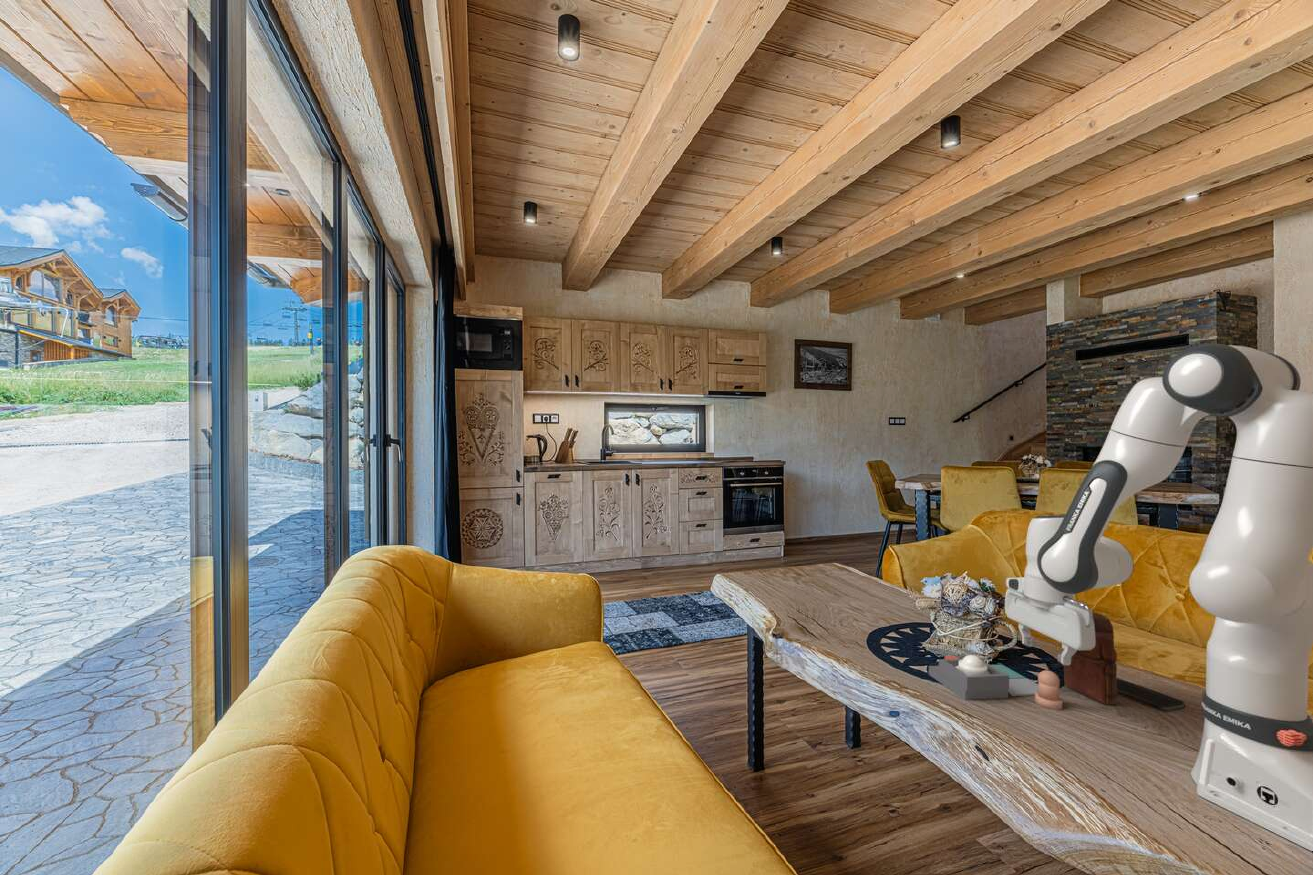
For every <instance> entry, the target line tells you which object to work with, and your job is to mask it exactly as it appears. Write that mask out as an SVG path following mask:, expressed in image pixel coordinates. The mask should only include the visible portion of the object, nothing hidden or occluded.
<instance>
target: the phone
mask: <svg viewBox="0 0 1313 875" xmlns="http://www.w3.org/2000/svg"><path fill="white" fill-rule="evenodd" d="M1116 678H1117V695H1119V696H1122V697H1124V698H1127V699H1130V700H1133V701H1135V702H1138V703H1140V704H1142V705H1145V706H1147V707H1150V708H1153V709H1155V710H1158V711H1161V712H1168V713H1169V712H1172V711H1176V710H1180V709H1185V708H1186V702H1184V701H1182V700H1180V699H1177V698H1175V697H1172V696H1169V695H1166V694H1164V693H1160V692H1157V691H1156V690H1152V689H1150V688H1148V687H1144V686H1142V685H1139V684H1135V683H1133V682H1130V681H1128V680H1125V679H1121V678H1119V677H1117V676H1116Z"/></svg>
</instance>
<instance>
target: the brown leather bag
mask: <svg viewBox="0 0 1313 875" xmlns="http://www.w3.org/2000/svg"><path fill="white" fill-rule="evenodd" d="M1092 614H1093V620H1094V626H1095V647H1094V648H1093V649H1092V650H1077V651H1076V652H1075V654H1074V655H1073V656H1072V657H1071V664H1070V665H1063V678H1064V680H1063V681H1064V685H1066V686H1067V688H1069V689H1071V690H1072V691H1075V692H1077V693H1080V694H1082V695H1084V696H1087V697H1088V698H1090V699H1093V700H1094V701H1097V702H1099V703H1102V704H1103V705H1108V706H1113V705H1115V704H1116V703H1117V700H1118V699H1117V698H1118V694H1117V678H1118V677H1117V674H1118V672H1117V670H1118V669H1117V660H1118V659H1117V656H1118V654H1117V651H1116V649H1115V640H1114V639H1115V634H1114V633H1115V632H1114V627H1113V624H1112V622H1111V621H1110V619H1109V618H1107V617H1106V616H1105V615H1103V614H1101V613H1098V612H1094V611H1092ZM1116 677H1117V678H1116Z"/></svg>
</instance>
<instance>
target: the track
mask: <svg viewBox="0 0 1313 875" xmlns="http://www.w3.org/2000/svg"><path fill="white" fill-rule="evenodd" d="M990 665H991V666H993V667H995V668H996V669H998V670H1000V671H1002V672H1004V673H1005V674H1007V675H1009V690H1008V696H1011V697H1027V696H1029V697H1030V696H1035V693H1037V692H1038V683H1036V682H1035V681H1032V680H1030V679H1029V678H1027V677H1025V676H1024V675H1022V674H1019V673H1018V672H1017V671H1014V670H1012V669H1010V667H1007V666H1005V665H1003V664H990Z"/></svg>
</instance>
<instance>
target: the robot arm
mask: <svg viewBox="0 0 1313 875" xmlns="http://www.w3.org/2000/svg"><path fill="white" fill-rule="evenodd" d="M1301 381H1302V380H1301V376H1300V373H1299V372H1298V370H1297V368H1296V367H1295V366H1294V365H1293V364H1292V363H1291V362H1290V361H1288V360H1287V359H1285V358H1283V357H1282V356H1280V355H1277V354H1274V353H1271V352H1264V351H1261V350H1258V349H1255V348H1252V347H1250V346H1249V347H1248V346H1243V345H1231V344H1228V345H1227V344H1224V343H1207V344H1198V345H1195V346H1192V347H1189V348H1186V349H1184V350H1182V351H1180V352H1179V353H1177V354H1176V355H1174V356H1173V357H1172V358H1171V359H1170V360H1169V361H1168V363H1167V364H1166V365H1165V367H1164V370H1163V373H1162V376H1155V377H1149V378H1145V379H1142V380H1140V381H1138V382H1136V383H1135V384H1134V385H1133V387H1132V388H1131V389H1130V391H1129V392H1128V394H1127V395H1126V397H1125V398H1124V400H1123V401H1122V403H1121V405H1120V407H1119V409H1118V411H1117V413H1116V415H1115V417H1114V420H1113V421H1112V424H1111V426H1110V430H1109V432H1108V433H1107V437H1106V439H1105V441H1104V443H1103V446H1102V447H1101V449H1100V452H1099V454H1098V455H1097V458H1096V460H1095V461H1094V463H1093V464H1092V466H1091V467H1090V469H1089V471H1088V472H1087V473H1086V475H1085V477H1084V478H1083V479H1082V482H1081V483H1080V486H1078V489H1077V491H1076V493H1075V495H1074V496H1073V499H1072V501H1071V503H1070V504H1069V507H1068V509H1067V511H1066V513H1065V514H1051V515H1049V514H1048V515H1047V514H1045V515H1037V516H1035V517H1033V518H1032V519H1031V520H1030V522H1029V524H1028V527H1027V532H1026V540H1025V555H1026V556H1025V557H1026V561H1027V562H1026V566H1025V569H1024V573H1023V576H1019V577H1007V578H1006V580H1005V585H1006V587H1007V589H1006V592H1005V598H1004V612H1005V615H1006V616H1007V618H1008V619H1010V620H1012V621H1014V622H1016V623H1018V629H1019V633H1020V635H1021V637H1022V638H1021V640H1022V642H1021V644H1023V645H1024V646H1026V647H1028V648H1031V647H1032V648H1033V647H1035V642H1036V640H1035V638H1034V637H1033V636H1032V632H1031V630H1034V631H1036V632H1037V633H1040V634H1042V635H1043V636H1046V637H1048V638H1050V639H1053V640H1055V641H1057V642H1059V643H1061V648H1062V649H1063V651H1062V653H1057V659H1056V660H1057V663H1058V664H1061V665H1063V666H1064V665H1070V664H1071V657H1072V656H1073V655H1074V654H1075V652H1076V651H1077V650H1092V649H1093V648H1094V647H1095V626H1094V620H1093V614H1092V612H1093V611H1092V610H1091V608H1089V606H1088V605H1087V603H1085V602H1082V601H1079V600H1077V599H1075V595H1077V594H1081V593H1084V592H1086V591H1090V590H1095V589H1102V588H1106V587H1112V586H1116V585H1119V584H1123V583H1125V582H1126V581H1128V580H1129V579H1130V578H1131V576H1132V575H1133V572H1134V570H1135V569H1134V568H1135V563H1134V559H1133V556H1132V554H1131V552H1130V551H1129V549H1128V548H1127V547H1126V546H1125V545H1124V544H1122V543H1121V542H1120V541H1118V540H1116V539H1113V538H1108V537H1106V536H1104V533H1105V532H1106V531H1105V530H1106V529H1107V527H1108V525H1109V523H1110V521H1111V519H1112V517H1113V515H1114V514H1115V511H1116V510H1117V509H1118V508H1119V506H1120V505H1121V504H1122V503H1124V502H1125V501H1126V500H1127V499H1129V498H1130V497H1132V496H1133V495H1135V494H1137V493H1139V492H1141V491H1142V490H1145V489H1147V488H1149V487H1153V486H1155V485H1157V484H1159V483H1162V482H1163V481H1164V480H1167V478H1169V476H1170V475H1171V474H1172V472H1174V470H1175V469H1176V466H1177V465H1178V464H1179V463H1180V461H1181V459H1182V457H1183V454H1184V452H1185V449H1186V447H1187V445H1188V443H1189V440H1190V438H1191V435H1192V432H1193V430H1194V429H1195V427H1196V425H1197V424H1198V423H1199V421H1201V420H1202V419H1204V418H1205V417H1207V416H1210V415H1211V416H1212V417H1213V416H1214V417H1217V418H1219V419H1226V418H1229V419H1230V420H1231V421H1232V422H1233V423H1234V425H1235V428H1236V440H1235V444H1234V448H1233V453H1232V457H1231V463H1230V467H1229V470H1228V475H1227V480H1226V485H1225V489H1224V493H1223V499H1222V502H1221V506H1220V507H1219V511H1218V513H1217V515H1216V518H1215V520H1214V522H1213V524H1212V526H1211V529H1210V531H1209V533H1208V536H1207V538H1206V541H1205V544H1204V546H1203V549H1202V551H1201V554H1200V557H1199V560H1198V562H1197V563H1196V565H1195V567H1194V568H1193V570H1192V572H1191V573H1190V577H1189V582H1188V583H1189V584H1188V585H1189V591H1190V593H1191V596H1192V597H1193V599H1194V600H1195V602H1196V603H1197V604H1198V605H1199V606H1200V607H1201V608H1202V609H1204V610H1205V611H1206V612H1207V613H1209V614H1211V615H1213V616H1214V617H1215V619H1214V623H1213V624H1214V625H1213V627H1212V631H1211V634H1210V635H1209V636H1210V637H1209V639H1208V640H1207V643H1206V659H1205V660H1206V661H1205V662H1206V663H1205V664H1206V665H1205V667H1206V668H1205V680H1206V681H1205V690H1204V691H1203V692H1202V698H1201V714H1202V716H1203V719H1204V724H1203V731H1202V739H1201V743H1200V747H1199V751H1198V755H1197V758H1196V761H1195V763H1194V765H1193V768H1192V769H1191V772H1190V775H1191V778H1192V780H1194V781H1193V782H1195V783H1196V794H1197V795H1199V796H1200V797H1202V798H1203V799H1205V800H1207V801H1209V802H1211V803H1213V804H1216V805H1218V806H1219V807H1222V808H1224V809H1225V810H1227V811H1229V812H1231V813H1233V814H1236V815H1237V816H1239V817H1242V818H1243V819H1245V820H1247V821H1250V822H1251V823H1253V824H1256V825H1258V826H1259V827H1261V828H1264V829H1266V830H1268V831H1270V832H1271V833H1274V834H1276V835H1278V836H1280V837H1282V838H1284V839H1286V840H1288V841H1291V842H1292V843H1294V844H1296V845H1298V846H1300V847H1302V848H1304V849H1306V850H1308V851H1310V852H1312V851H1313V720H1312V718H1311V716H1310V715H1308V711H1309V709H1308V707H1309V705H1308V704H1309V703H1308V701H1309V700H1308V699H1309V697H1308V696H1309V686H1308V685H1309V665H1310V658H1311V653H1312V647H1313V562H1311V561H1310V560H1309V557H1310V556H1311V553H1312V551H1313V392H1311V391H1307V390H1306V391H1305V390H1300V388H1301Z"/></svg>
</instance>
